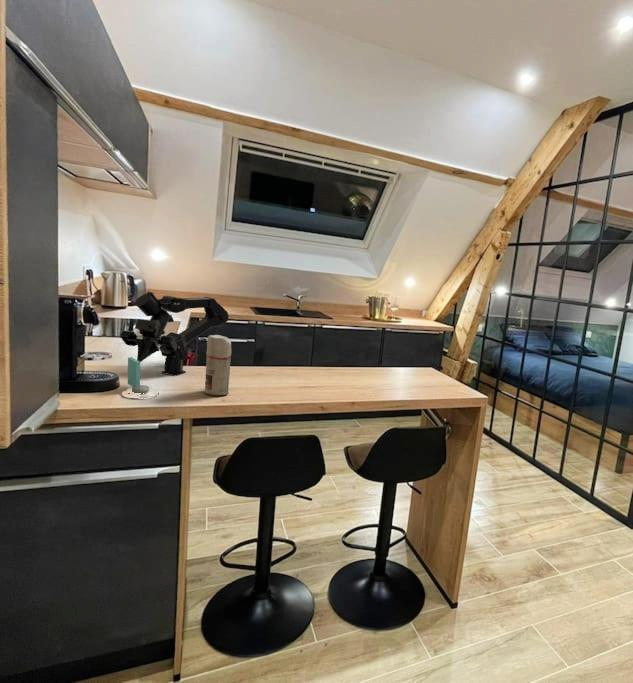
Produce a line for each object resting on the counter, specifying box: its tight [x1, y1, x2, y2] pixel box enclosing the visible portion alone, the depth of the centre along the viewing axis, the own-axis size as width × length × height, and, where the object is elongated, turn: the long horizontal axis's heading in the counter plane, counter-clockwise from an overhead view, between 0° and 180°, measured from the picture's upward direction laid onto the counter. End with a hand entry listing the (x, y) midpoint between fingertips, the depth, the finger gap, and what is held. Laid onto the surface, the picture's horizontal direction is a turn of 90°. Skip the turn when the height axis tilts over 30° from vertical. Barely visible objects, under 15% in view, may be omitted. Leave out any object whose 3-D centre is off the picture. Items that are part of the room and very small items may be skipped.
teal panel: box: [127, 356, 149, 393], centre depth 130 cm, size 11×5×9 cm, turn 47°
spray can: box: [203, 334, 232, 397], centre depth 135 cm, size 8×8×20 cm
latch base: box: [128, 386, 160, 398], centre depth 129 cm, size 11×11×1 cm
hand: (138, 361), depth 134 cm, fingers closed
